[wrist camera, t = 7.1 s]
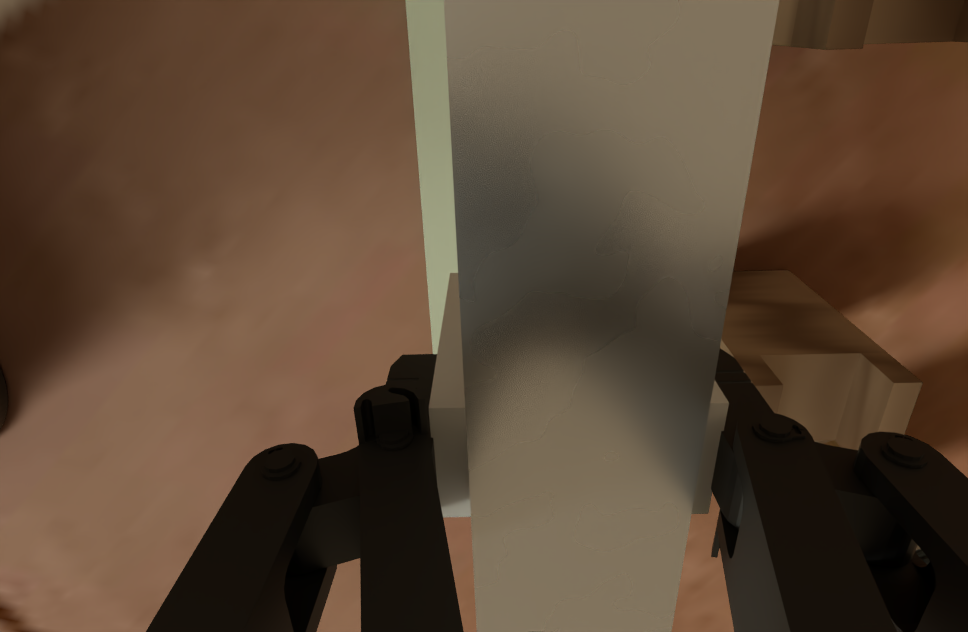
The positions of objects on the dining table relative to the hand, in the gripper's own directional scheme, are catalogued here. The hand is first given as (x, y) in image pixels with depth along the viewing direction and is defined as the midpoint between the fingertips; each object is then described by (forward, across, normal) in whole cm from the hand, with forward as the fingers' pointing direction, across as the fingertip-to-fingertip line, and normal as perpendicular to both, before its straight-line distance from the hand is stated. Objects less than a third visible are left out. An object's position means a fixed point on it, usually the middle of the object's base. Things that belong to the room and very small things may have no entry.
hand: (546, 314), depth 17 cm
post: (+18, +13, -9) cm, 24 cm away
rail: (-3, 0, 0) cm, 3 cm away
